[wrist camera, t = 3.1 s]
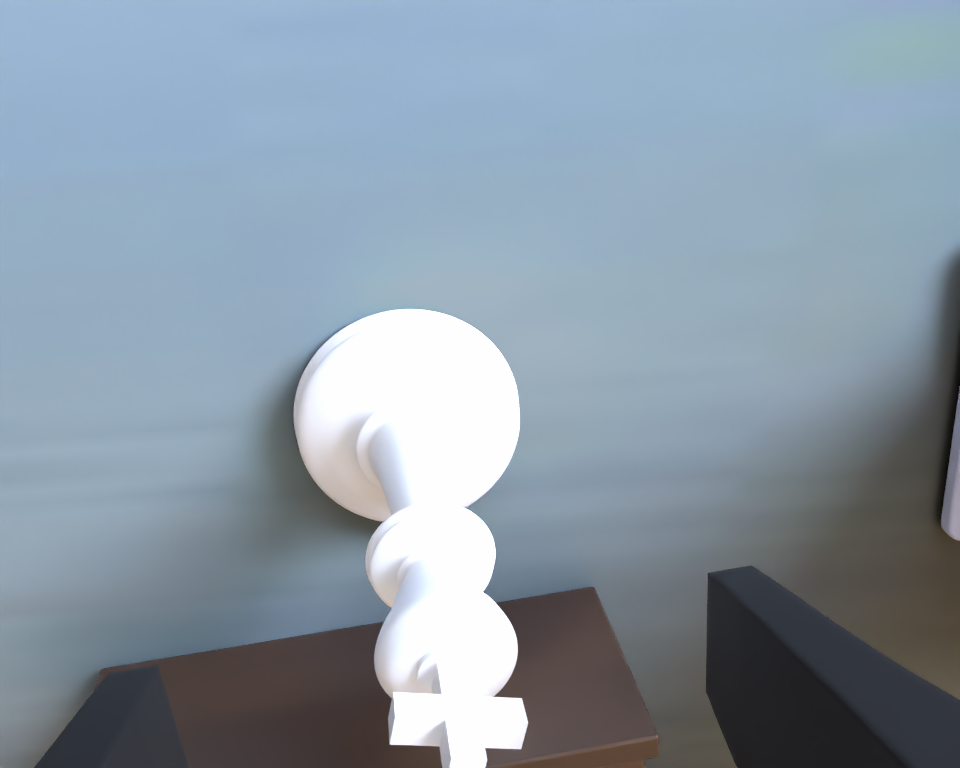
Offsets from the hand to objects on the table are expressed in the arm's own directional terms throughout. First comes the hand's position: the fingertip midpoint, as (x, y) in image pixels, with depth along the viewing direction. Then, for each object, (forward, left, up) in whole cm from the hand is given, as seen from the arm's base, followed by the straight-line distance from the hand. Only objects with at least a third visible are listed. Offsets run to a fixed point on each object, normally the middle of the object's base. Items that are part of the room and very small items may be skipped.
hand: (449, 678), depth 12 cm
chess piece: (0, 0, -9) cm, 9 cm away
